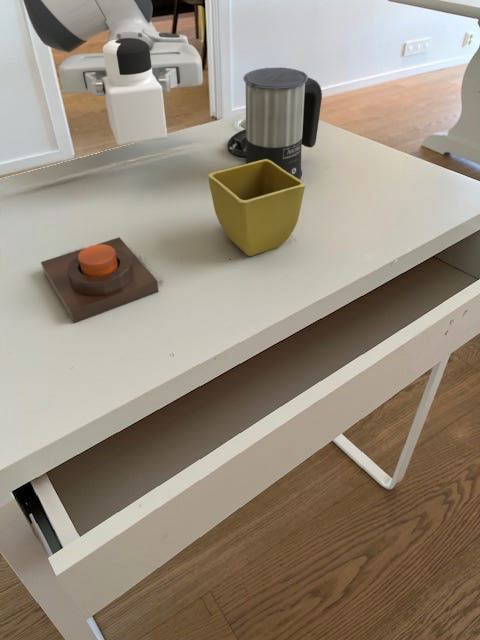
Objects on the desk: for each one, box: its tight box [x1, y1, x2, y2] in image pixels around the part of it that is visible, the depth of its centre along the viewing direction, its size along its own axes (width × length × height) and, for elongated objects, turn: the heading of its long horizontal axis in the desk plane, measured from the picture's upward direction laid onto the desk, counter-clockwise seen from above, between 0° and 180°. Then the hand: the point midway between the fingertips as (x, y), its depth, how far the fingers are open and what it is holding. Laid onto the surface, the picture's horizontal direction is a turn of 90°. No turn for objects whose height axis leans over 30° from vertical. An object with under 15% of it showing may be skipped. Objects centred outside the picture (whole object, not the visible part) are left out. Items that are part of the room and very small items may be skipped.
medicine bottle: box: [102, 38, 168, 146], centre depth 70 cm, size 7×7×12 cm
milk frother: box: [226, 67, 323, 180], centre depth 79 cm, size 14×16×15 cm
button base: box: [40, 237, 160, 324], centre depth 59 cm, size 11×10×4 cm
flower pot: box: [207, 159, 306, 257], centre depth 63 cm, size 9×9×9 cm
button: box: [78, 243, 118, 277], centre depth 57 cm, size 4×4×2 cm
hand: (131, 88), depth 69 cm, fingers closed on medicine bottle, 7 cm apart
